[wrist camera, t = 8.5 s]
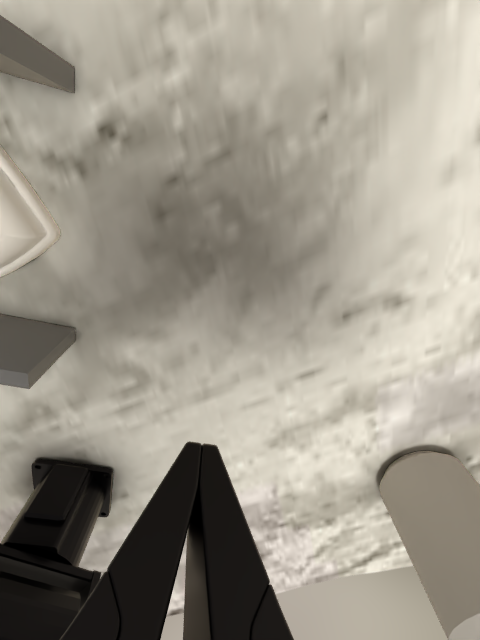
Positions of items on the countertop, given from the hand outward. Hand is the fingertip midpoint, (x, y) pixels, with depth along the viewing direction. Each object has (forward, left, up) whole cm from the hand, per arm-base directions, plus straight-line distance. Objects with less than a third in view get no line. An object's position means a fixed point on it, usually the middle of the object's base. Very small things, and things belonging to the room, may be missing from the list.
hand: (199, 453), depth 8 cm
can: (-13, -21, -12) cm, 28 cm away
